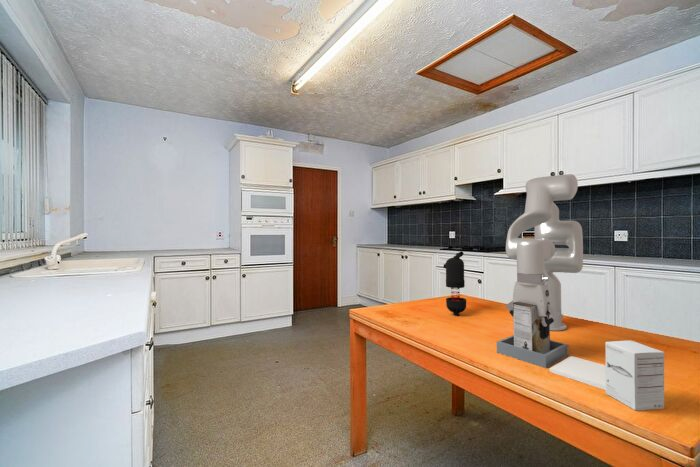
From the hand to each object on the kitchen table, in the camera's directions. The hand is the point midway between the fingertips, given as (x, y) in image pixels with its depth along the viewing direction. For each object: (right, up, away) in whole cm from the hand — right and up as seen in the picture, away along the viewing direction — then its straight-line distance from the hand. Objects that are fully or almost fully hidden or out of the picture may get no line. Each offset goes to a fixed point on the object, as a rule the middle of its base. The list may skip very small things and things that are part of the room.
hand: (531, 334), depth 100 cm
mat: (+7, -6, -15) cm, 17 cm away
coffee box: (0, -6, 0) cm, 6 cm away
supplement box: (+7, -6, -28) cm, 30 cm away
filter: (-9, -6, +47) cm, 49 cm away
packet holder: (0, -6, 0) cm, 6 cm away
